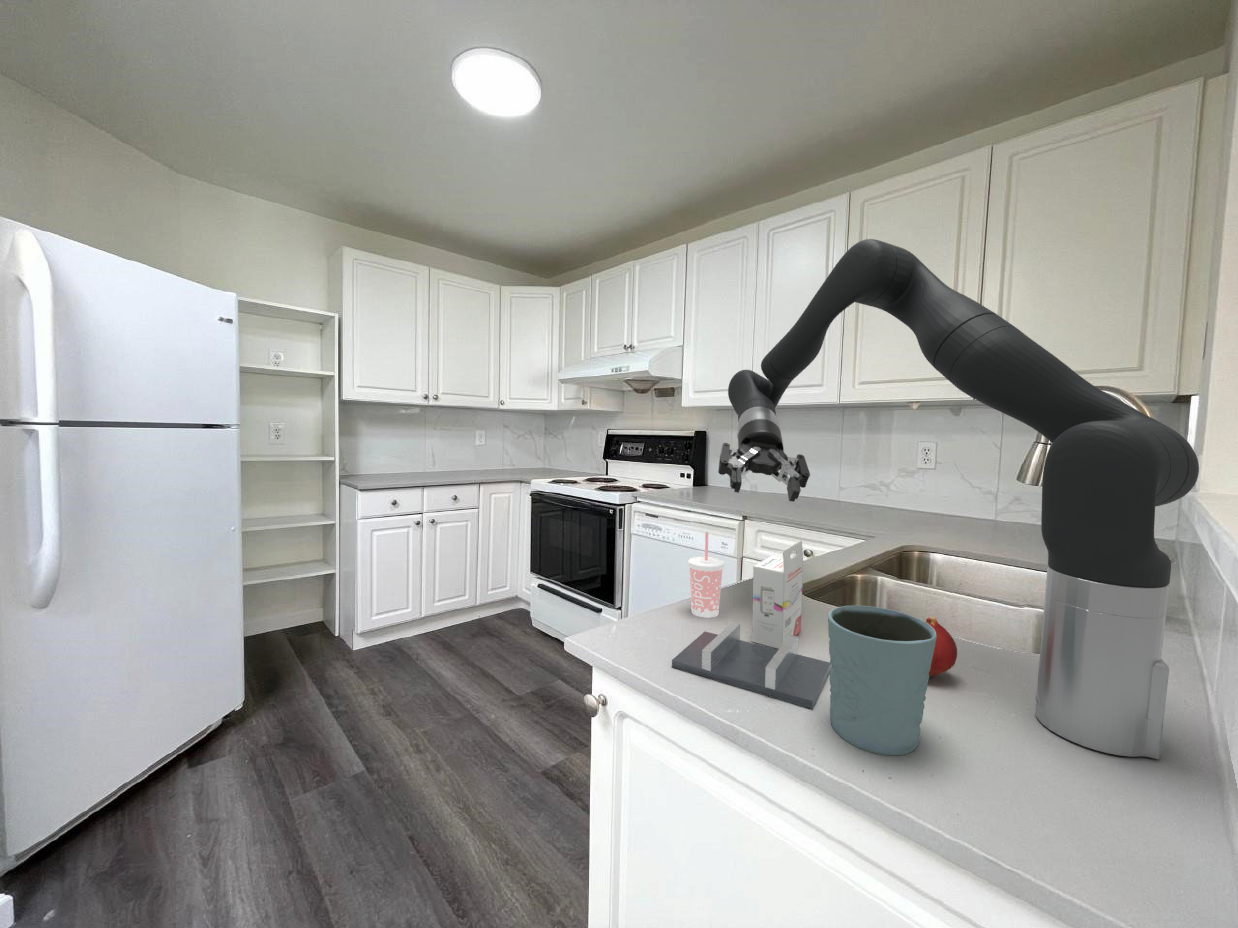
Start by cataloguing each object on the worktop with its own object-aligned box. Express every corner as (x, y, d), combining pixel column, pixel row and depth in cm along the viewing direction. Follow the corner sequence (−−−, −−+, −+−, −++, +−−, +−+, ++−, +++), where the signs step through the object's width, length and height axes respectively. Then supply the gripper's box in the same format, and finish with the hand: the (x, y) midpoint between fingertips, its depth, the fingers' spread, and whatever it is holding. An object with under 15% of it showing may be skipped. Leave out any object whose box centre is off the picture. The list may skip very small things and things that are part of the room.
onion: (906, 660, 70) (909, 604, 70) (955, 673, 67) (960, 614, 66) (900, 678, 66) (904, 618, 65) (954, 692, 62) (958, 629, 62)
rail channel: (830, 669, 68) (831, 644, 67) (812, 709, 58) (813, 680, 58) (704, 637, 77) (705, 615, 77) (671, 666, 68) (672, 641, 68)
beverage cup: (679, 611, 88) (681, 531, 87) (703, 603, 92) (705, 526, 90) (706, 622, 83) (708, 538, 82) (730, 613, 87) (732, 533, 86)
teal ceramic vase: (806, 725, 55) (810, 619, 54) (848, 693, 62) (853, 597, 61) (907, 775, 48) (915, 652, 47) (943, 731, 54) (950, 623, 53)
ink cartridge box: (770, 623, 83) (773, 535, 81) (801, 631, 80) (805, 539, 78) (749, 641, 76) (752, 545, 75) (782, 651, 73) (786, 550, 72)
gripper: (723, 412, 90) (724, 466, 77) (805, 424, 89) (820, 481, 76) (715, 446, 94) (715, 503, 81) (793, 458, 93) (805, 518, 80)
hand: (765, 492), depth 79 cm, fingers open, 8 cm apart
